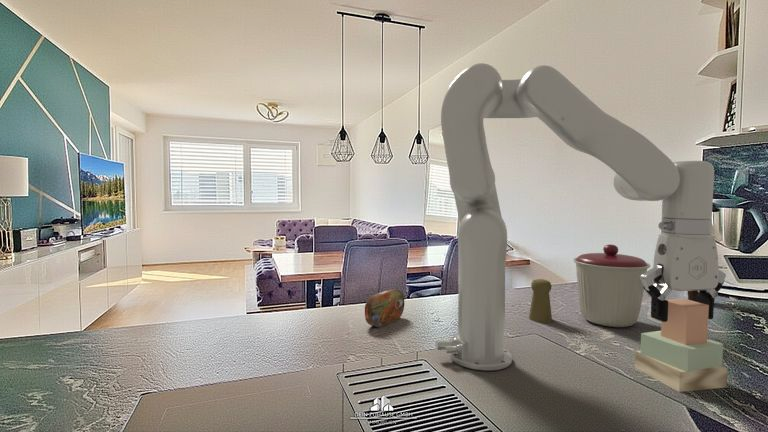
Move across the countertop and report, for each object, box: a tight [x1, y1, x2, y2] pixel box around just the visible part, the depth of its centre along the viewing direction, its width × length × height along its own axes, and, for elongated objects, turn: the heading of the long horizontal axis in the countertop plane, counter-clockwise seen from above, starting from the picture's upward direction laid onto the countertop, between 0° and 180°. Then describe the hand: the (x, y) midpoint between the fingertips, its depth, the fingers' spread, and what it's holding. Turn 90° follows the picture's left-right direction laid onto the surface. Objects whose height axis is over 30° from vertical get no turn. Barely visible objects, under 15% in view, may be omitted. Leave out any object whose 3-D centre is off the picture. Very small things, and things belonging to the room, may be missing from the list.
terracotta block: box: [660, 298, 709, 345], centre depth 77 cm, size 5×5×7 cm
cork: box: [528, 278, 553, 324], centre depth 113 cm, size 6×6×11 cm
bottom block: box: [634, 349, 729, 393], centre depth 78 cm, size 10×10×4 cm
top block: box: [640, 330, 724, 372], centre depth 77 cm, size 9×9×4 cm
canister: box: [572, 243, 651, 328], centre depth 110 cm, size 18×18×21 cm
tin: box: [364, 288, 405, 328], centre depth 110 cm, size 15×3×8 cm, turn 143°
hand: (681, 318), depth 77 cm, fingers open, 9 cm apart
